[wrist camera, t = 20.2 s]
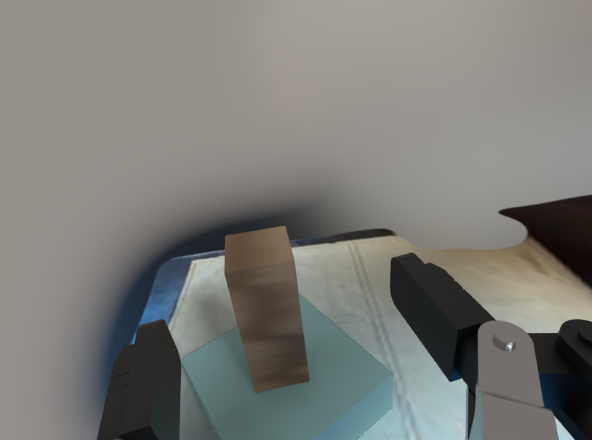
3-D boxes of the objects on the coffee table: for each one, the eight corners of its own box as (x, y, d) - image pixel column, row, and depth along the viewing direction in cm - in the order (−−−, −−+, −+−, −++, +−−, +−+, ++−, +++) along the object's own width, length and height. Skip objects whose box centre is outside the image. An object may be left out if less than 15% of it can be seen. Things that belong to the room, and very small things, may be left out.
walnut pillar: (300, 338, 32) (285, 225, 26) (309, 381, 28) (294, 260, 22) (252, 348, 32) (225, 235, 26) (255, 392, 28) (224, 272, 22)
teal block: (302, 325, 40) (297, 292, 38) (391, 411, 31) (393, 373, 28) (194, 394, 34) (180, 359, 32) (263, 527, 25) (250, 492, 22)
